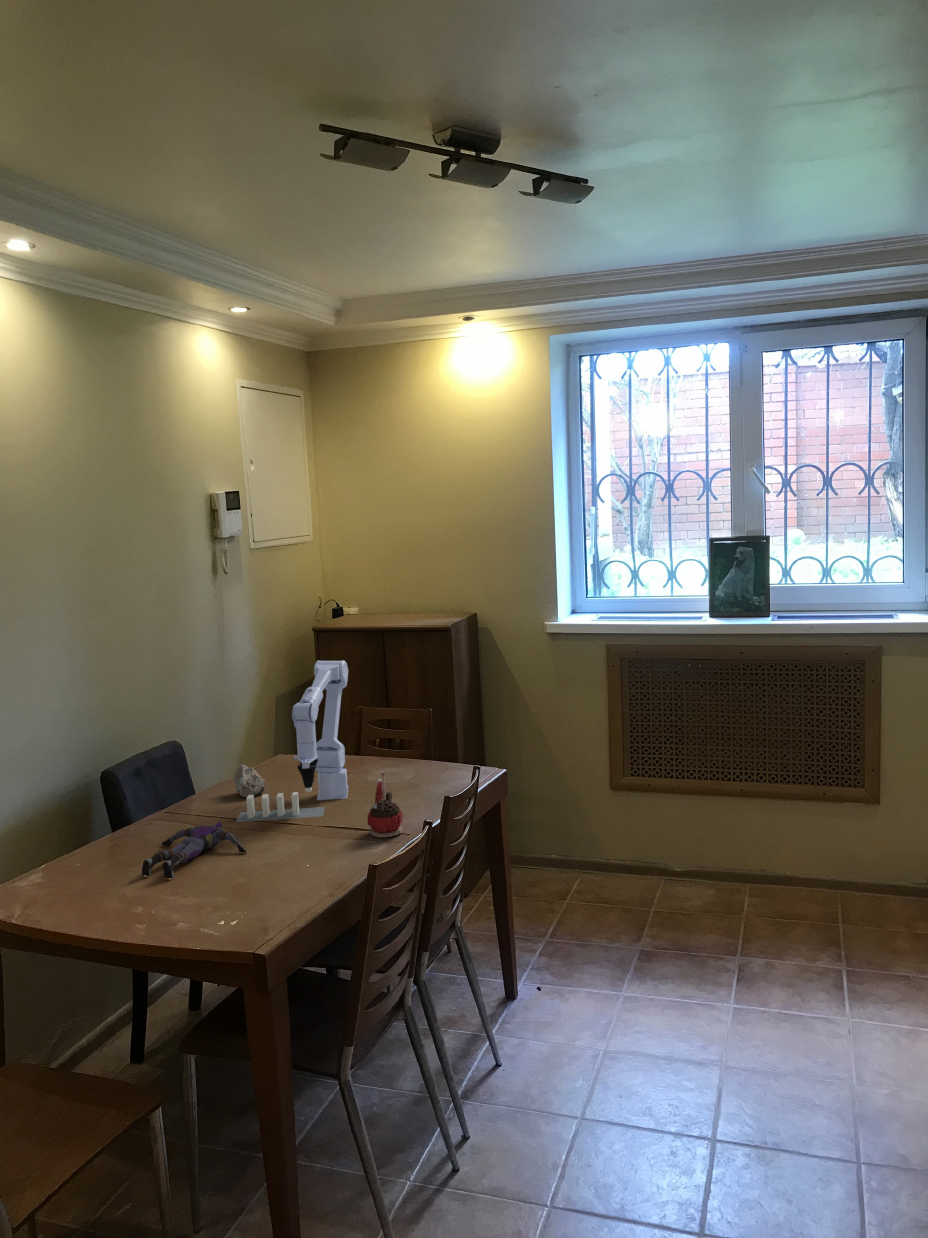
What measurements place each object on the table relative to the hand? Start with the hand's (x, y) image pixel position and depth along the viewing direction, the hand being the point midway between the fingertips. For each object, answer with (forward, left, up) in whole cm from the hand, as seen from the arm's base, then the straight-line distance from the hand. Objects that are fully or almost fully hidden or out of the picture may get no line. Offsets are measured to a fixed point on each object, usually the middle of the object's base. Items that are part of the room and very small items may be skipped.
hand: (309, 785), depth 293 cm
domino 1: (+18, 0, -9) cm, 20 cm away
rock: (+22, -22, -9) cm, 32 cm away
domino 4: (+4, 0, -9) cm, 10 cm away
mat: (+9, 0, -9) cm, 13 cm away
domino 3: (+9, 0, -9) cm, 12 cm away
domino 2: (+13, 0, -9) cm, 16 cm away
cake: (-23, +22, -9) cm, 33 cm away
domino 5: (0, 0, -2) cm, 2 cm away
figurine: (+30, +31, -10) cm, 44 cm away
